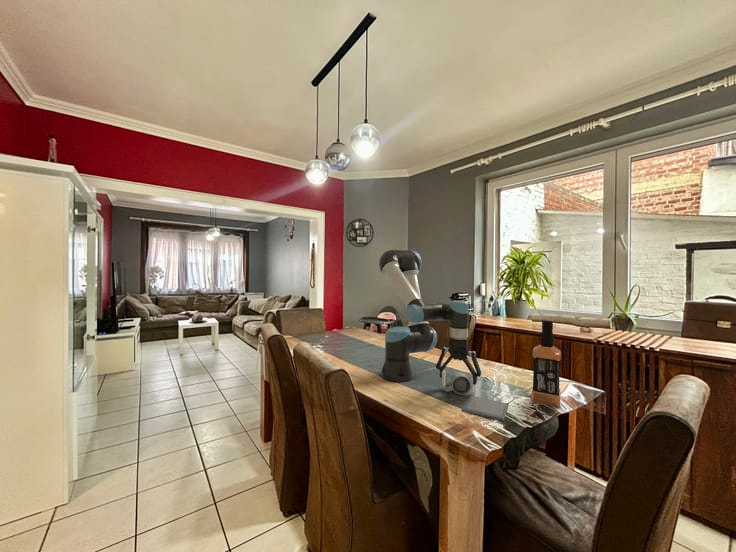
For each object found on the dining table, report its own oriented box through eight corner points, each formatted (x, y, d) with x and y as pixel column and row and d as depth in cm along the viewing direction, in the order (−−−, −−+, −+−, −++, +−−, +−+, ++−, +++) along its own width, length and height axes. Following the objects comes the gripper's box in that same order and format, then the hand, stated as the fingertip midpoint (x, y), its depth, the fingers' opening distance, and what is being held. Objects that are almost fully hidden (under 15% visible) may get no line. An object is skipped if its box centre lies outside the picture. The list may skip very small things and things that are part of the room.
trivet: (462, 410, 111) (462, 408, 111) (470, 397, 123) (470, 395, 123) (503, 421, 104) (503, 418, 104) (508, 405, 116) (508, 403, 116)
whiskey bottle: (560, 407, 115) (562, 323, 114) (530, 401, 120) (532, 320, 119) (560, 398, 124) (561, 319, 123) (532, 392, 129) (534, 317, 128)
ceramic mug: (466, 388, 133) (466, 370, 133) (471, 395, 125) (471, 376, 124) (442, 387, 134) (442, 369, 134) (444, 394, 126) (444, 376, 126)
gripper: (428, 335, 132) (427, 385, 132) (486, 343, 119) (485, 398, 120) (434, 332, 138) (433, 380, 138) (490, 339, 126) (488, 391, 126)
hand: (457, 388), depth 129 cm, fingers closed on ceramic mug, 11 cm apart
